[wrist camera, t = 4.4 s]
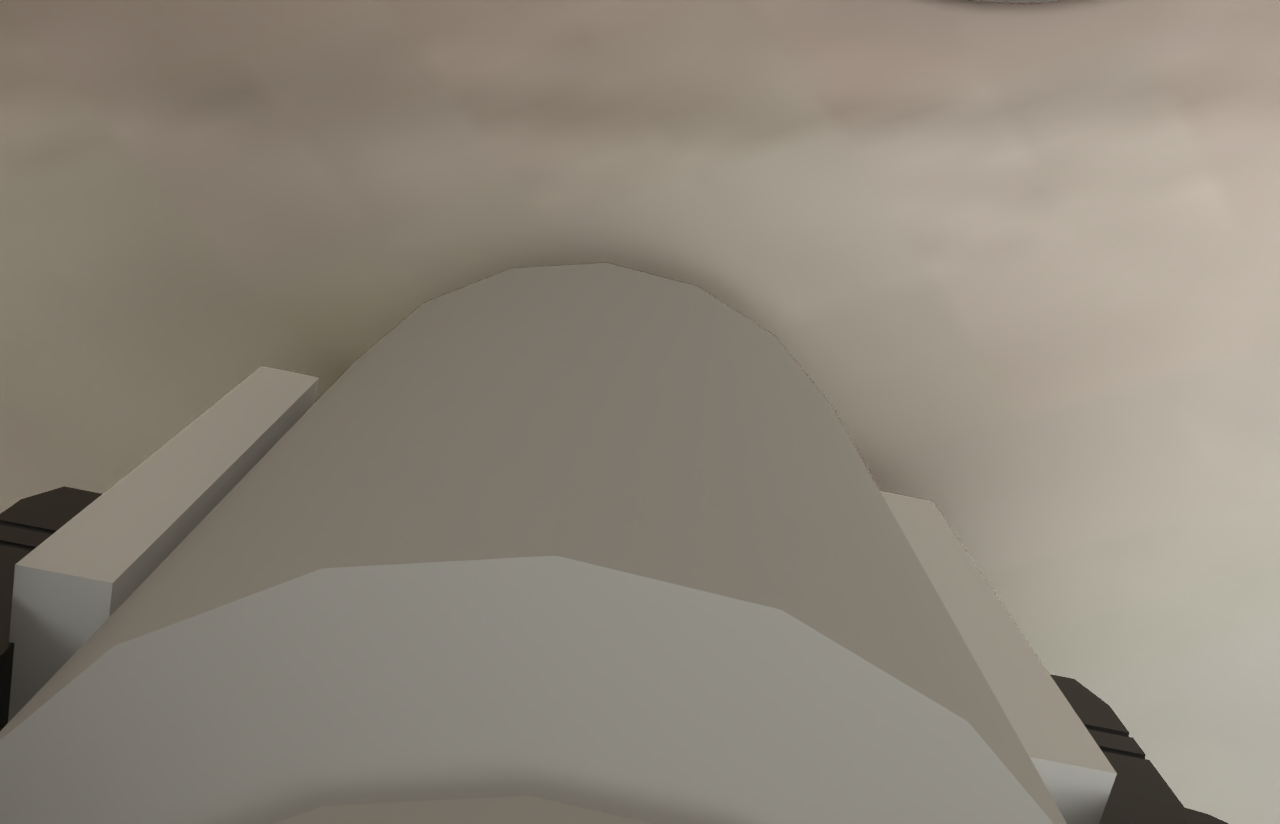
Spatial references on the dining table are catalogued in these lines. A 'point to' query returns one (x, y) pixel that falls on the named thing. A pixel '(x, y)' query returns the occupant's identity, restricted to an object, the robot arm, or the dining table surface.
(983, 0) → the saucer
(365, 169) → the dining table surface
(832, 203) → the dining table surface
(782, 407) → the can
